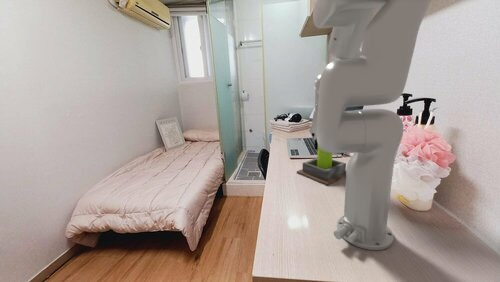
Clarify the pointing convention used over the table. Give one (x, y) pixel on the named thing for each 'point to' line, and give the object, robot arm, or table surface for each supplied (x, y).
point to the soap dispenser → (324, 159)
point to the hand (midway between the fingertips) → (324, 150)
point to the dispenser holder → (323, 172)
